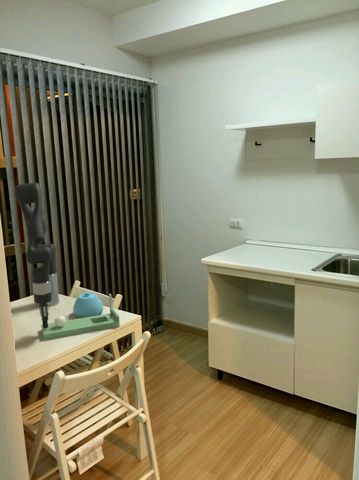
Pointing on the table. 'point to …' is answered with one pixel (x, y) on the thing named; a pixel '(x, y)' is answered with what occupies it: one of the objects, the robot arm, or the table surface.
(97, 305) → the sugar bowl
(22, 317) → the table surface
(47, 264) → the robot arm
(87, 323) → the mini golf green
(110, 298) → the flag pin
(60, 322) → the ball
